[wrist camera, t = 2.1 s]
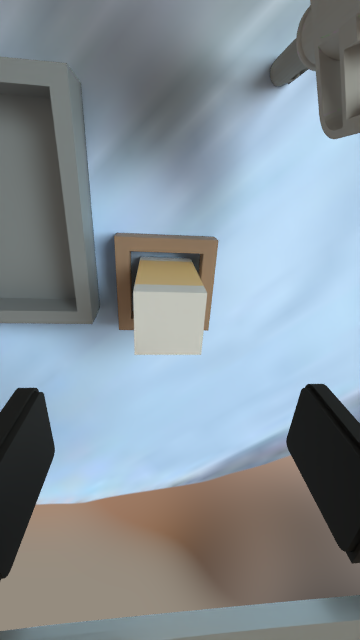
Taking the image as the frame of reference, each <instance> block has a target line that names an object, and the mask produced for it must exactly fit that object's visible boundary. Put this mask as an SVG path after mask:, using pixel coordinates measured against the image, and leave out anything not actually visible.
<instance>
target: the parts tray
mask: <svg viewBox="0 0 360 640" xmlns="http://www.w3.org/2000/svg"><path fill="white" fill-rule="evenodd" d="M99 308H100V305H99V293H98V281H97V269H96V257H95V245H94V233H93V222H92V210H91V198H90V186H89V174H88V162H87V150H86V139H85V127H84V115H83V103H82V91H81V83H80V81H79V80H78V78H77V77H76V76H75V74H74V73H73V72H72V70H71V69H70V67H69V66H68V65H67V63H59V62H49V61H39V60H29V59H18V58H8V57H0V323H55V324H93V322H94V320H95V317H96V315H97V313H98V311H99Z"/></svg>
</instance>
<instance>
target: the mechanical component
mask: <svg viewBox="0 0 360 640" xmlns="http://www.w3.org/2000/svg"><path fill="white" fill-rule="evenodd" d="M310 2H311V5H310V6H309V8H308V9H307V10H306V12H305V13H304V15H303V17H302V19H301V21H300V24H299V27H298V31H297V38H296V39H295V40H294V41H293V42H292V43H291V44H290V45H289V46H288V47H287V48H286V49H285V50H284V51H283V52H282V53H281V54H280V56H279V57H278V58H277V59H276V60H275V61H274V63H273V64H272V67H271V70H270V78H271V81H272V83H273V84H274V85H275V86H282V85H284V84H285V83H288V84H290V83H291V82H292V81H294V80H295V79H296V78H298V77H299V76H300V75H301V74H303V73H304V72H305V71H307V70H308V69H310V70H312V71H316V79H317V92H318V104H319V116H320V122H321V126H322V129H323V131H324V133H325V134H326V135H327V136H328V137H329V138H331V139H338V138H342V137H345V136H349V135H353V134H357V133H360V0H310Z"/></svg>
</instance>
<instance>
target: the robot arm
mask: <svg viewBox="0 0 360 640" xmlns="http://www.w3.org/2000/svg"><path fill="white" fill-rule="evenodd" d="M286 442H287V447H288V450H289V452H290V454H291V456H292V457H293V459H294V461H295V463H296V465H297V467H298V469H299V471H300V473H301V474H302V477H303V479H304V481H305V482H306V484H307V486H308V488H309V490H310V492H311V494H312V496H313V498H314V500H315V502H316V503H317V506H318V507H319V509H320V511H321V513H322V515H323V517H324V519H325V521H326V523H327V525H328V527H329V529H330V531H331V533H332V534H333V536H334V538H335V540H336V542H337V544H338V546H339V547H340V548H341V550H343V551H346V553H347V555H348V557H349V559H350V561H351V562H352V563H360V423H359V422H358V421H357V420H356V419H355V418H354V417H353V415H352V414H351V413H350V412H349V411H348V410H347V409H346V407H345V406H344V405H343V404H342V403H341V402H340V401H339V400H338V398H337V397H336V396H335V395H334V394H333V393H332V392H331V391H330V389H329V388H328V387H327V386H326V385H324V384H307V385H306V387H305V388H303V389H302V390H301V393H300V396H299V400H298V403H297V406H296V409H295V413H294V416H293V419H292V423H291V426H290V429H289V433H288V436H287V440H286ZM54 451H55V447H54V441H53V437H52V432H51V427H50V422H49V417H48V412H47V407H46V402H45V397H44V394H43V392H39V391H38V389H37V388H18V389H17V390H16V391H15V392H14V393H13V395H12V396H11V398H10V399H9V400H8V402H7V403H6V405H5V406H4V408H3V409H2V411H1V412H0V580H1V579H2V578H6V576H8V574H9V572H10V570H11V568H12V565H13V562H14V560H15V557H16V554H17V552H18V549H19V547H20V544H21V541H22V538H23V536H24V533H25V531H26V528H27V526H28V523H29V520H30V518H31V515H32V512H33V510H34V507H35V505H36V502H37V499H38V497H39V494H40V491H41V489H42V486H43V483H44V481H45V478H46V476H47V473H48V470H49V468H50V465H51V462H52V460H53V457H54ZM0 640H360V595H356V596H346V597H334V598H323V599H312V600H301V601H289V602H279V603H268V604H258V605H247V606H236V607H226V608H216V609H205V610H195V611H185V612H174V613H164V614H154V615H144V616H135V617H125V618H115V619H105V620H96V621H86V622H77V623H66V624H56V625H47V626H39V627H31V628H23V629H16V630H7V631H0Z"/></svg>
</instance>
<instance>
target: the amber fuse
mask: <svg viewBox="0 0 360 640" xmlns="http://www.w3.org/2000/svg"><path fill="white" fill-rule="evenodd" d="M206 301H207V291H206V289H205V287H204V285H203V283H202V281H201V279H200V277H199V275H198V273H197V271H196V269H195V267H194V265H193V262H192V260H191V258H171V257H140V262H139V266H138V271H137V276H136V281H135V285H134V290H133V303H134V345H135V355H201V349H202V339H203V330H204V320H205V310H206Z"/></svg>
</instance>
